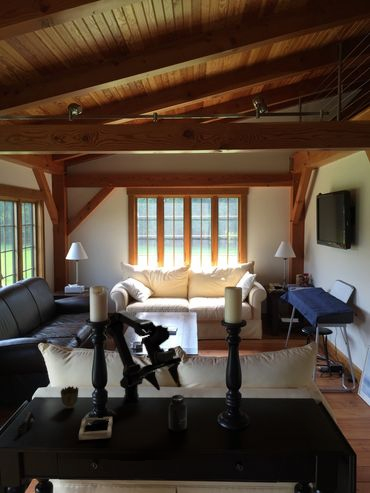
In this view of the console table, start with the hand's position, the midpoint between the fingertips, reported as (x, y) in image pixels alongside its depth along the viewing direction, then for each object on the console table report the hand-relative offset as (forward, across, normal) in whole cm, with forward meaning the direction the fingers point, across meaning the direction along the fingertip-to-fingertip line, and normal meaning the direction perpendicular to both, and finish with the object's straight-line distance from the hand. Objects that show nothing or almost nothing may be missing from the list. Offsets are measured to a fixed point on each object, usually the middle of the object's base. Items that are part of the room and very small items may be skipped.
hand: (168, 386), depth 156 cm
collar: (+4, -25, +19) cm, 31 cm away
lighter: (-7, -44, +34) cm, 56 cm away
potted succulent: (-10, -24, +38) cm, 46 cm away
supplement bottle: (+15, -1, +3) cm, 16 cm away
